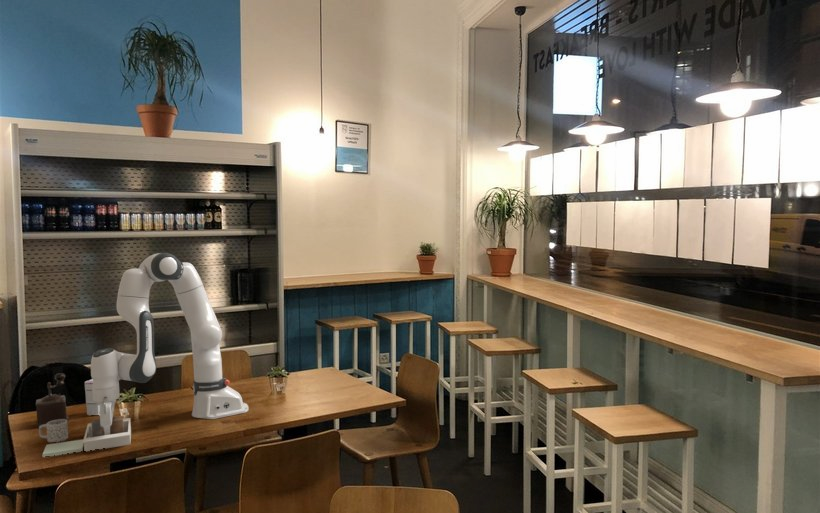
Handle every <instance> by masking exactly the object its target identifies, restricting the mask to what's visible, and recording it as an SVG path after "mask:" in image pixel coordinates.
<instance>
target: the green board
mask: <svg viewBox="0 0 820 513" xmlns="http://www.w3.org/2000/svg"><path fill="white" fill-rule="evenodd" d="M83 440H84V438H83V439H75V440H70V441H61V442H56V443H49V444H46V445H45V447H44V450H43V452H42V458H46V457H45V456H50V457H55V456H62V454H63V455H68V454H67V453H69V454H74V453H73V452H76V453H82V452H83V450H84V443H83ZM81 451H82V452H81ZM54 455H55V456H54Z"/></svg>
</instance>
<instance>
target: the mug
mask: <svg viewBox="0 0 820 513" xmlns="http://www.w3.org/2000/svg"><path fill="white" fill-rule="evenodd" d="M43 428H45V429H46V434H43ZM38 435H39V437H40V438H42V439H45V440H46V441H47V443H49V442H56V443H61V442H65V441H67V440H68V439H69V431H68V421H67V420H66V419H58V420H53V421H50V422H47V423H46V424H44V425H40V426H39V428H38ZM67 438H68V439H67ZM66 439H67V440H66ZM60 441H61V442H60Z"/></svg>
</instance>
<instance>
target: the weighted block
mask: <svg viewBox="0 0 820 513" xmlns="http://www.w3.org/2000/svg"><path fill="white" fill-rule="evenodd" d="M123 419H124V416H123V415H118V416H113V419H112V425H111V426H110V435H111V434H118V433H124V427H123ZM91 421H92V422H91V423H92V437H97V436H104V435H105V433H104V427H101V425H100V418H98V419H92V420H91Z"/></svg>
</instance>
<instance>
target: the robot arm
mask: <svg viewBox="0 0 820 513" xmlns="http://www.w3.org/2000/svg"><path fill="white" fill-rule="evenodd" d="M165 281H168V282H169V283H170V284H171V286H172V288H173V290H174V292H175V295H176V299H177V301H178V303H179V306H180V308H181V312H182V313H183V316H184V318H185V321H186V323H187V325H188V329H189V331H190V340H191V341H190V342H191V350H192V361H193V377H194V378H193V379H194V380H193V383H192V388H193V395H194V396H193V407H192V412H191V417H192V418H197V419H207V420H215V419H220V418H224V417H225V418H226V417H230V416H235V415H240V414H245V413H247V412H249V410H250V409H249V404H247V403H245V402H243V398H242V397H243V396H241V394H240V393H239V392H238V391H237V390H235V389H233V388H232V387H230V386H229V385H230V384H231V382H230V380H229V379H228V378H226V377H223V364H222V363H223V361H222V355H221V354H222V353H221V346H220V343H221V341H222V338H223V331H222V328H221V326H220V323H219V321H218V319H217V316H216V313H215V311H214V309H213V306H212V304H211V302H210V299H209V297H208V295H207V294H208V293H207V290H206V289H205V287H204V283H203V281H202V279H201V276H200V275H199V273H198V270H196V268H195V266H194V265H193V264H192V263H191V262H182V261H180V260H179V259H178V258H177V257H176V256H175V255H173V254H172V253H168V252H160V253H159V252H157V253H154V254H151V255H149V256H146V257H145V258H143V259H142V260H141V262H140V263H139V264H138V265H137V267H136V268H135V267H134V268H129V269H127V270H125V271H124V272H123V274H122V276H121V279H120V282H119V286H118V292H117V296H116V313H118V315H119V316H120V317H121V318H122V319H123V320H124V321H126V322H128V323H129V324H130V325H132V326H133V327H134V329H135V331H136V354H134V353H133V354H132V353H125V352H120V351H118V350H115V348H111V347H108V348H107V347H106V348H101V349H98V350H97V351H95V352H94V353H93V354H92V356H91V360H90V376H91V379H93V384H92V397H93V401H94V402H97V405H99V406H100V415H99V419H100V425H101V427H104V433H105V435H110V426H111V425H112V419H113V417H114V410H115V404H116V403H117V400H118V399H119V398H120V396H121V395H120V383H119V381H121V380H124V381H130V382H135V383H139V384H145V383H148V382H149V381H150V380H151V379H152V378H153V377H154V375H155V374H156V372H157V362H156V356H155V331H154V330H155V327H154V326H155V325H154V324H155V323H154V322H155V321H154V316H153V315H152V313H151V311H150V306H149V301H150V291H151V288H152V285H153V284H154V283H161V282H165Z"/></svg>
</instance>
